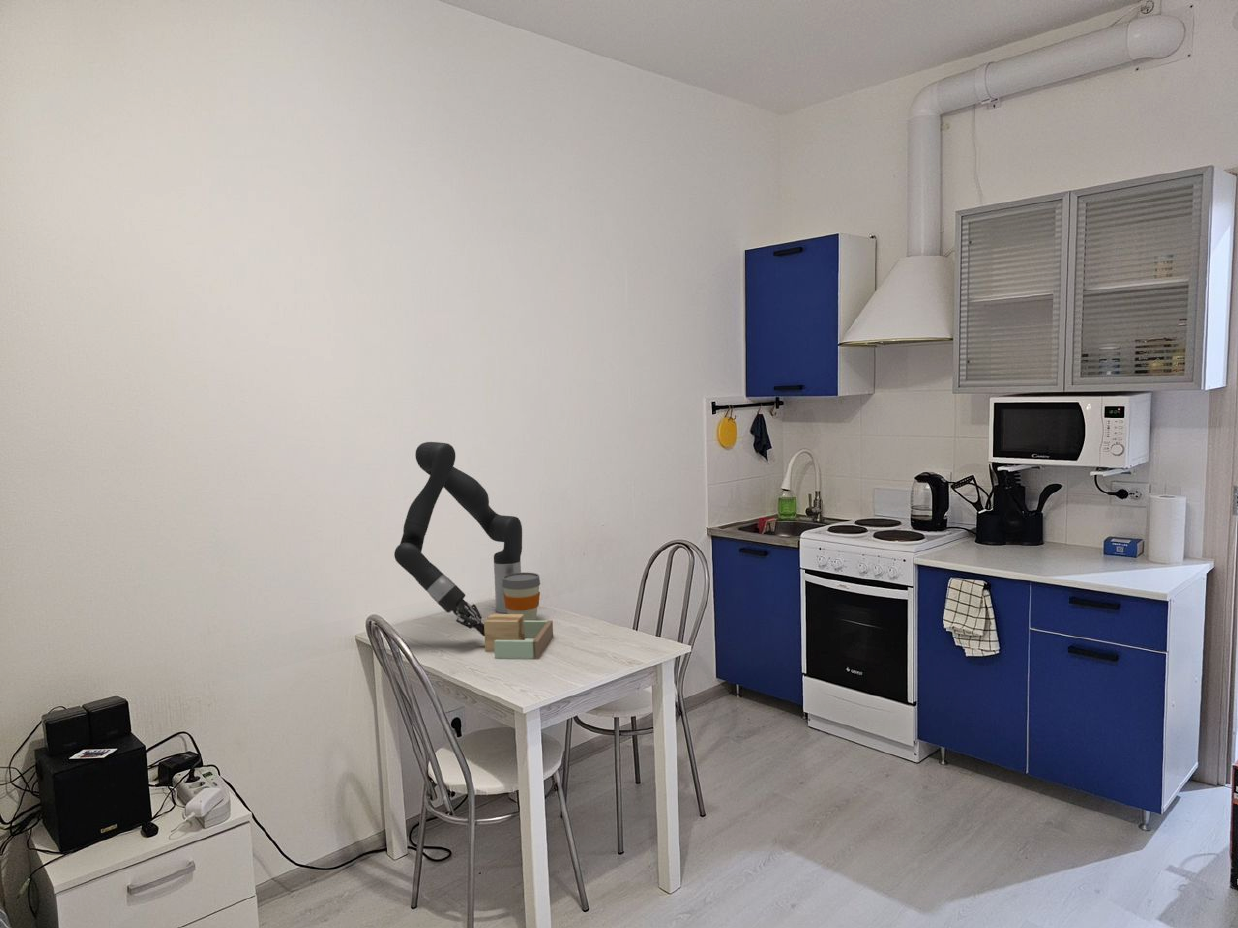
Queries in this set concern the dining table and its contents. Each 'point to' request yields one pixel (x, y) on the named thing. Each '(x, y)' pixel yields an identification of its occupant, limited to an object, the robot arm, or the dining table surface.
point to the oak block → (503, 628)
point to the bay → (526, 641)
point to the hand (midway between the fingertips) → (487, 633)
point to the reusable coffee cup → (522, 594)
